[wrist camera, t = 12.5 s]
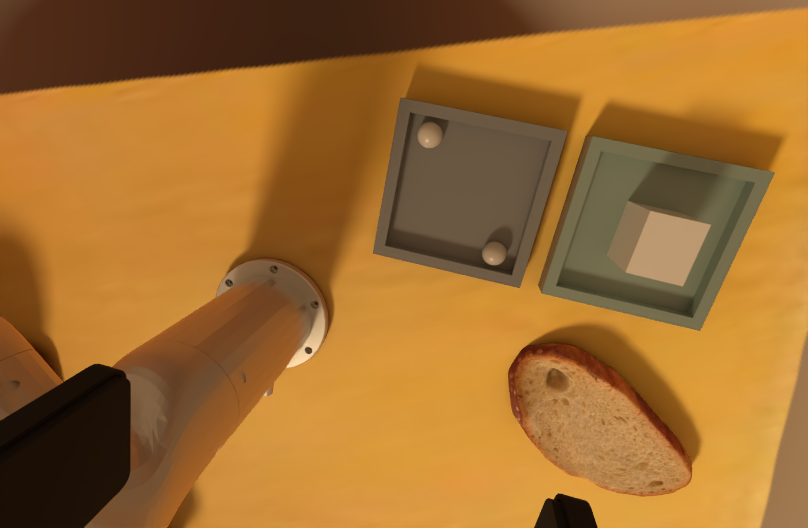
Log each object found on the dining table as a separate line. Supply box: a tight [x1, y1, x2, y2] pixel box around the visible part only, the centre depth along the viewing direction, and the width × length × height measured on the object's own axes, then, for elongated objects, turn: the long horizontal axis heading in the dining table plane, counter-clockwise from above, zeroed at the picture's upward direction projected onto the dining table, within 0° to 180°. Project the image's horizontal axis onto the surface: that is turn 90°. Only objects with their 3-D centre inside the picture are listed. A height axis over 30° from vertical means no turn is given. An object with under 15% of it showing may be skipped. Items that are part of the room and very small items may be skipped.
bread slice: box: [508, 343, 692, 497], centre depth 42 cm, size 18×18×4 cm
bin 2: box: [538, 136, 775, 331], centre depth 37 cm, size 14×14×2 cm
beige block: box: [607, 201, 711, 286], centre depth 35 cm, size 5×4×5 cm
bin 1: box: [373, 98, 568, 288], centre depth 38 cm, size 14×14×3 cm
